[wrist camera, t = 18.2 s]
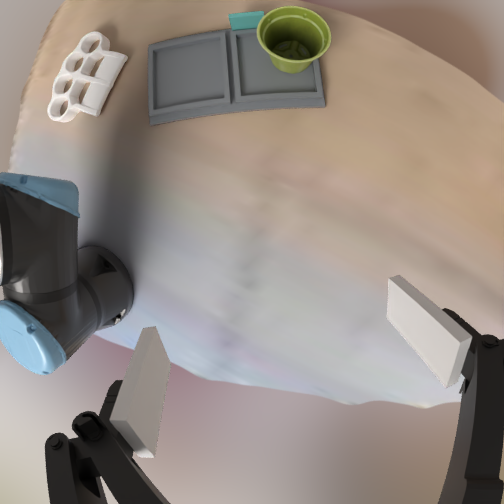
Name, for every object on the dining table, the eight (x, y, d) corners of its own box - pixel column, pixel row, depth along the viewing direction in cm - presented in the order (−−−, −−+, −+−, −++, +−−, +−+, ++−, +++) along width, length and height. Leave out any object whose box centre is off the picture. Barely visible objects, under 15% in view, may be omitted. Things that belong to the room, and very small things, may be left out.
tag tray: (151, 125, 41) (136, 119, 36) (150, 46, 38) (137, 33, 32) (324, 107, 39) (332, 97, 34) (312, 26, 36) (316, 9, 30)
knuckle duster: (94, 134, 43) (46, 115, 42) (140, 44, 38) (85, 34, 37) (84, 132, 39) (35, 113, 39) (132, 36, 35) (76, 28, 34)
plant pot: (247, 48, 37) (242, 23, 29) (298, 24, 35) (303, -3, 27) (281, 93, 39) (283, 74, 30) (332, 67, 37) (345, 45, 28)
